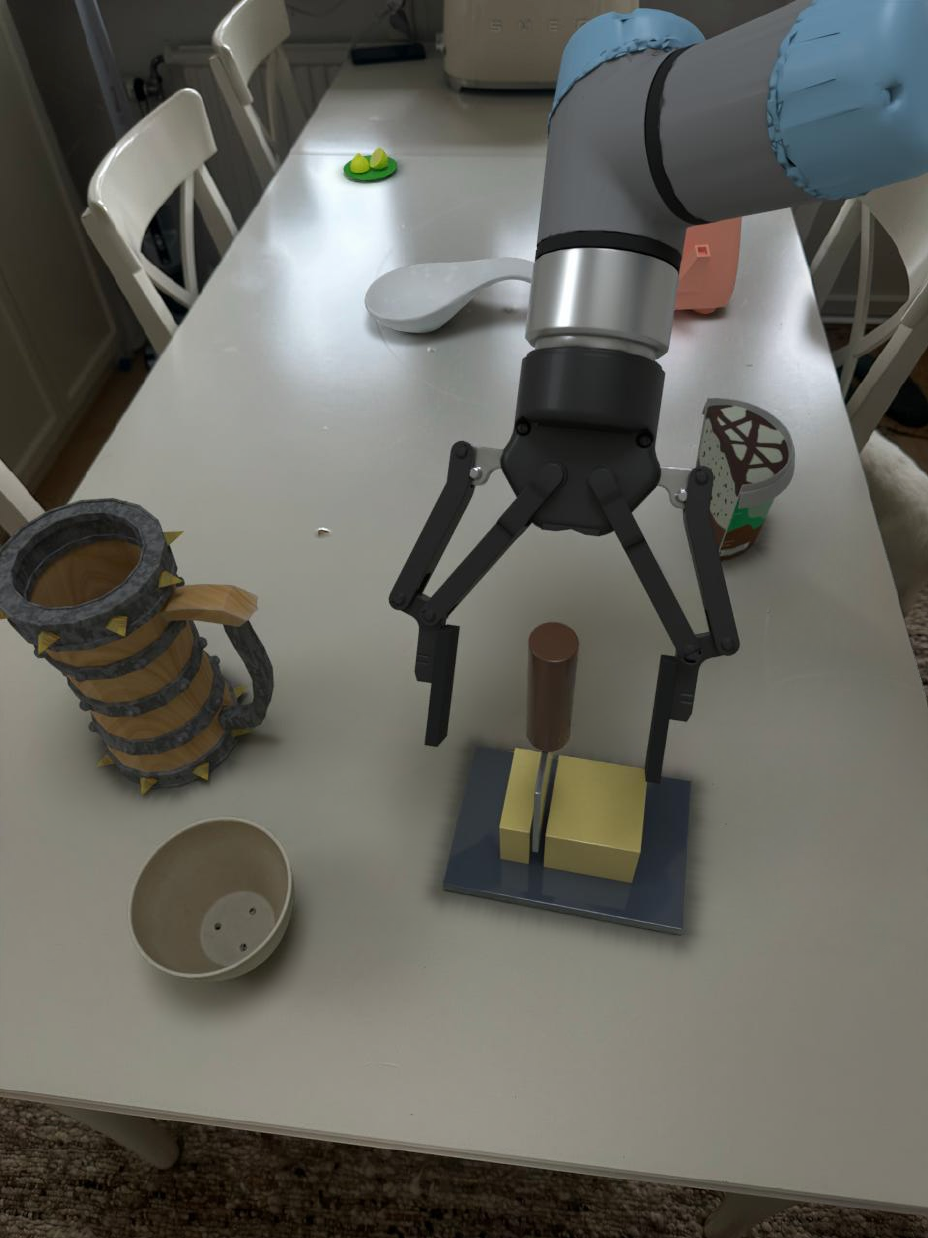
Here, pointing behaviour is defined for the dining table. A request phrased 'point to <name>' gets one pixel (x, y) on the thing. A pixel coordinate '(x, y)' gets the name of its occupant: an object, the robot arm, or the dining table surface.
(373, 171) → the lemon
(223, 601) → the mug
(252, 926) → the flower pot
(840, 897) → the dining table surface
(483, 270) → the spoon rest
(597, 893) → the butter dish
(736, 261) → the teapot
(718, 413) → the food container
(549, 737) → the knife
